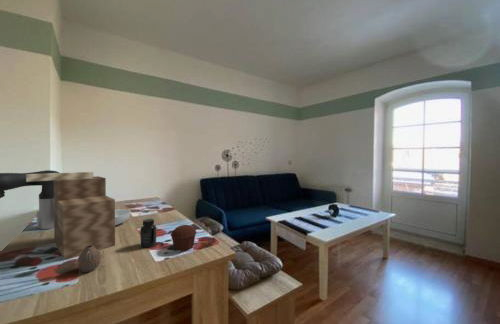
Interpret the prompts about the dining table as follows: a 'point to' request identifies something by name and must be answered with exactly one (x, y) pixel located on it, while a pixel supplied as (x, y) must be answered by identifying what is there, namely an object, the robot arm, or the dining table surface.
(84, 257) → the brown egg-shaped lump
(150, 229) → the supplement bottle
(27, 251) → the dining table surface
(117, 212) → the serving bowl
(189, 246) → the muffin
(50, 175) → the birch rod
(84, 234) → the walnut stand
